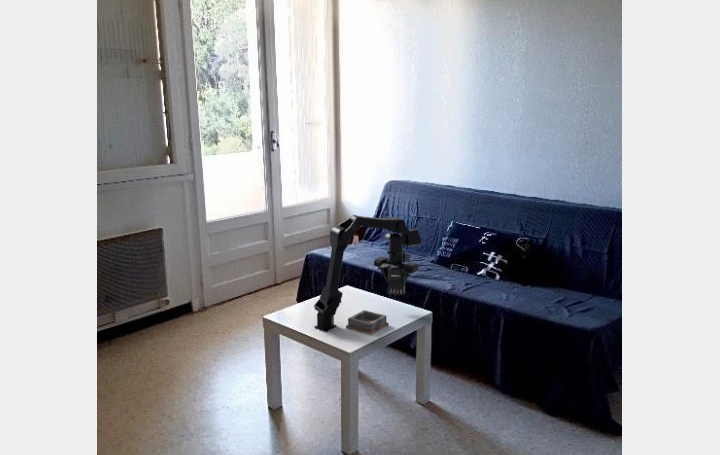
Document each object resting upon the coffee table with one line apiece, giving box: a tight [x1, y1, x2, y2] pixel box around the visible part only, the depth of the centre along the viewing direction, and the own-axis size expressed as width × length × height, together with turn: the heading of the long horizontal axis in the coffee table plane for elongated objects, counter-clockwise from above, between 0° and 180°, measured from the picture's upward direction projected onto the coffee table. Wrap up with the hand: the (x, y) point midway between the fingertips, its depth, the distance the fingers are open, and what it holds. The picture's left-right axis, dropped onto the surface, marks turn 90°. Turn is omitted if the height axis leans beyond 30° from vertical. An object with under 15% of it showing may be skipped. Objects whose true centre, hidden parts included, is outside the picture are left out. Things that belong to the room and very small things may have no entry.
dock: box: [345, 309, 390, 336], centre depth 227 cm, size 12×12×4 cm
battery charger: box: [387, 266, 406, 296], centre depth 238 cm, size 7×4×11 cm, turn 75°
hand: (395, 284), depth 239 cm, fingers closed on battery charger, 7 cm apart
